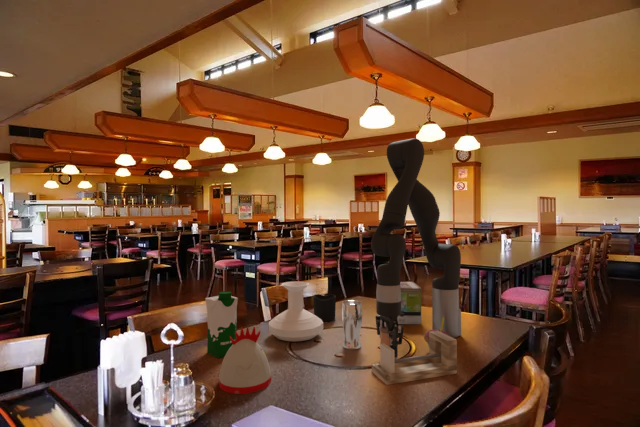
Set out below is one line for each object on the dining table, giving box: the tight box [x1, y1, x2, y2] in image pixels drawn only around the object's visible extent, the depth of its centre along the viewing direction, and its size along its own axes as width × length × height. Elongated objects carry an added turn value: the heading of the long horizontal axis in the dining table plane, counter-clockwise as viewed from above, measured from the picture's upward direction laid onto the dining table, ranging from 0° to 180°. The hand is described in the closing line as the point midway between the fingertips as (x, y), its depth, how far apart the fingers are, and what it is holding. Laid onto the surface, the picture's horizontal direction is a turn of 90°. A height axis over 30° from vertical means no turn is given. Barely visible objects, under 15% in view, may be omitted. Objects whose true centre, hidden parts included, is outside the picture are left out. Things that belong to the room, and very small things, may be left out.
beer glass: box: [341, 299, 363, 350], centre depth 137 cm, size 7×7×15 cm
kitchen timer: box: [218, 326, 272, 395], centre depth 110 cm, size 14×14×15 cm
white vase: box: [268, 280, 324, 342], centre depth 149 cm, size 20×20×19 cm
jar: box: [379, 327, 399, 359], centre depth 125 cm, size 5×5×10 cm
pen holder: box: [312, 294, 337, 324], centre depth 170 cm, size 9×9×10 cm
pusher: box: [379, 343, 441, 374], centre depth 115 cm, size 19×6×7 cm, turn 108°
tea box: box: [397, 281, 422, 325], centre depth 170 cm, size 15×10×15 cm, turn 179°
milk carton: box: [204, 290, 239, 359], centre depth 132 cm, size 9×9×20 cm
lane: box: [371, 331, 458, 386], centre depth 115 cm, size 22×9×10 cm, turn 108°
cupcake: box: [423, 316, 451, 346], centre depth 131 cm, size 9×8×12 cm
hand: (389, 353), depth 125 cm, fingers closed on jar, 5 cm apart
